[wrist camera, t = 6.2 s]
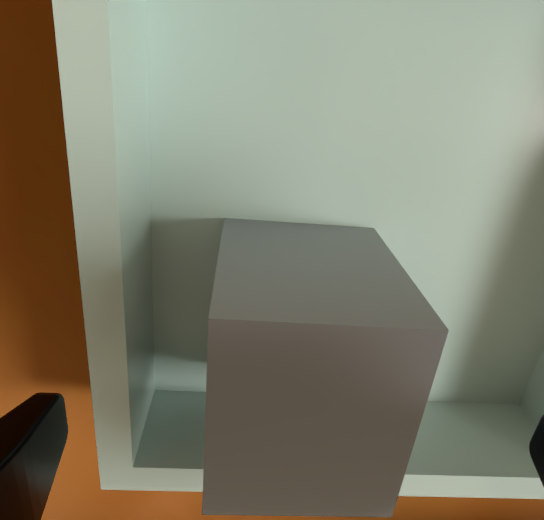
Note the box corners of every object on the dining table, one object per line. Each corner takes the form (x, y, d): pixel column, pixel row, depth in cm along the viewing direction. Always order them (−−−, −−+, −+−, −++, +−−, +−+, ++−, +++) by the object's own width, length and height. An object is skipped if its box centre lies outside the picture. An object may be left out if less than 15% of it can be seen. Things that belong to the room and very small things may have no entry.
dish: (520, 406, 15) (592, 500, 12) (135, 391, 14) (101, 489, 11) (714, -45, 10) (944, -96, 6) (109, -126, 9) (28, -234, 5)
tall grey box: (345, 369, 13) (391, 517, 9) (217, 364, 13) (202, 514, 8) (374, 227, 11) (448, 330, 7) (224, 217, 11) (208, 318, 7)
